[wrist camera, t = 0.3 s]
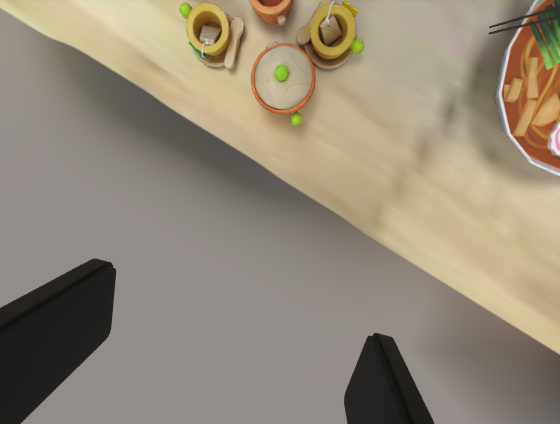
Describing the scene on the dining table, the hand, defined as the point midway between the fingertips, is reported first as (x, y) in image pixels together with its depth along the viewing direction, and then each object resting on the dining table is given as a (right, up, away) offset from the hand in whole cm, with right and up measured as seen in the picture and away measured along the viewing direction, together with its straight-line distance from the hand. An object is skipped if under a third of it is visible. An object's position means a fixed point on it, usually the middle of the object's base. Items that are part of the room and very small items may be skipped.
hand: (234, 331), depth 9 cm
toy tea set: (-1, +28, +25) cm, 38 cm away
